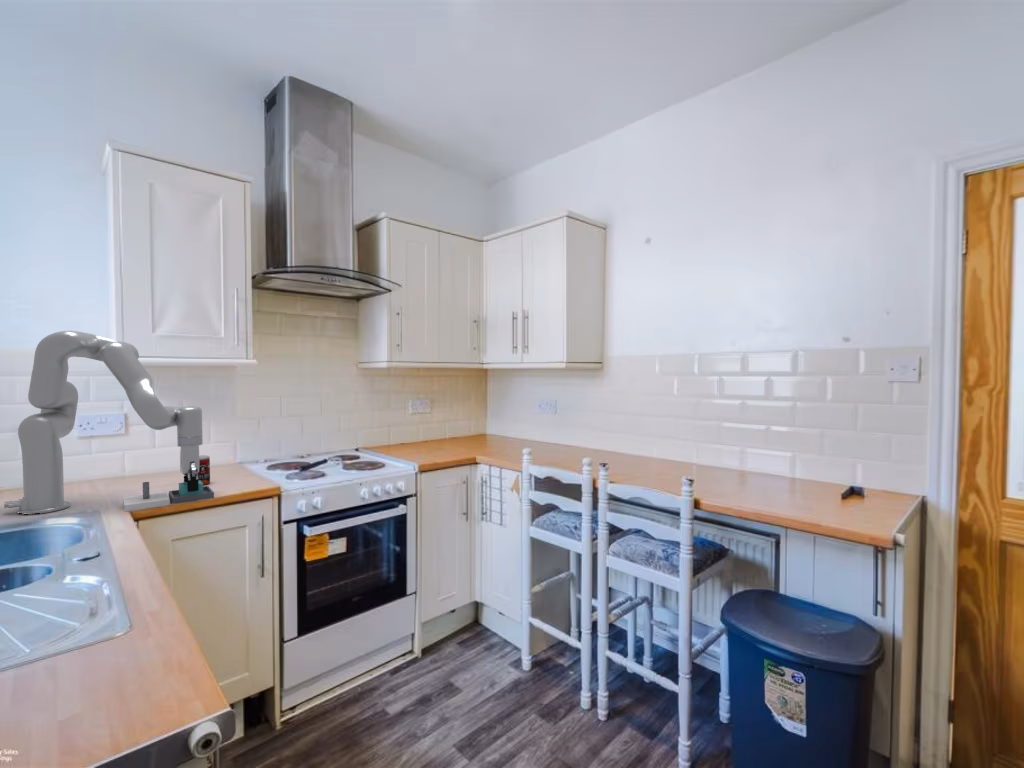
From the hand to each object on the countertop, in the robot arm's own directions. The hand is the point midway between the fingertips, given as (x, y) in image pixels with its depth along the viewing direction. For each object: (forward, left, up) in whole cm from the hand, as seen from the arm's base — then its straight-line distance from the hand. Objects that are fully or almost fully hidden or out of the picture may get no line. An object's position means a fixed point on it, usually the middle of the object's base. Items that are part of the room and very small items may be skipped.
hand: (191, 488), depth 175 cm
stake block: (-13, -1, -3) cm, 13 cm away
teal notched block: (0, 0, -3) cm, 3 cm away
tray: (0, 0, -3) cm, 3 cm away
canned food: (+5, +21, -3) cm, 22 cm away
